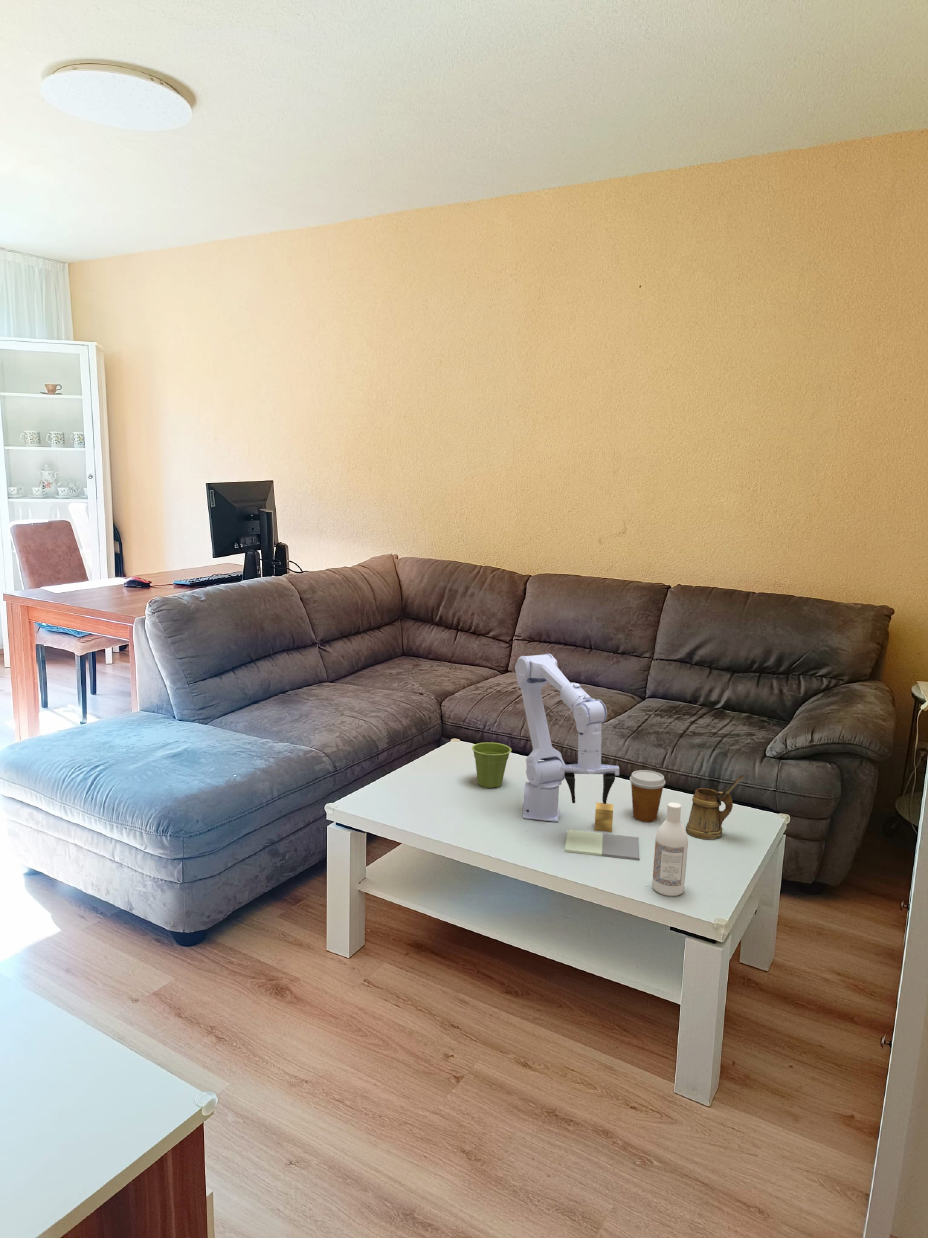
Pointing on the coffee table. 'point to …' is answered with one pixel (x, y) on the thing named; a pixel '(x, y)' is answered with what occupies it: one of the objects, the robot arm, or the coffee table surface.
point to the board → (602, 844)
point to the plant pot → (490, 763)
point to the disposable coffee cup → (646, 794)
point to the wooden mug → (709, 812)
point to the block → (603, 817)
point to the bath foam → (670, 854)
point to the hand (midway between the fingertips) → (588, 802)
